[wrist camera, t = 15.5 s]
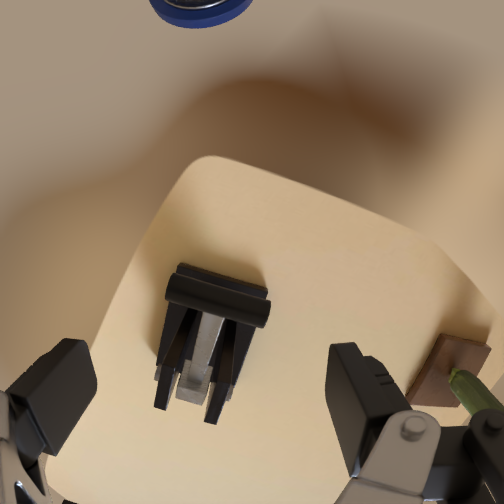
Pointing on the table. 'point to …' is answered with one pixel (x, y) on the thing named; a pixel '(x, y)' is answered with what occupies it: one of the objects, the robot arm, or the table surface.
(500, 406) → the vegetable
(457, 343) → the board
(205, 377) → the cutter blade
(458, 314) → the table surface
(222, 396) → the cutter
